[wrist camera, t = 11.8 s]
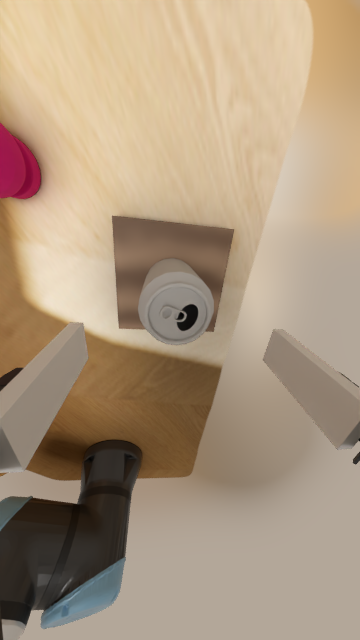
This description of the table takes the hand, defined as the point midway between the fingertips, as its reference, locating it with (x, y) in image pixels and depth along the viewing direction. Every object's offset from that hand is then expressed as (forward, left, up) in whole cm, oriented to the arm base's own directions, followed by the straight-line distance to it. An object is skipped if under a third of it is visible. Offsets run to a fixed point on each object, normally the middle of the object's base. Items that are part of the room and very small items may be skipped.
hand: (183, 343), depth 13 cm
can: (0, 0, -16) cm, 16 cm away
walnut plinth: (0, 0, -19) cm, 19 cm away
